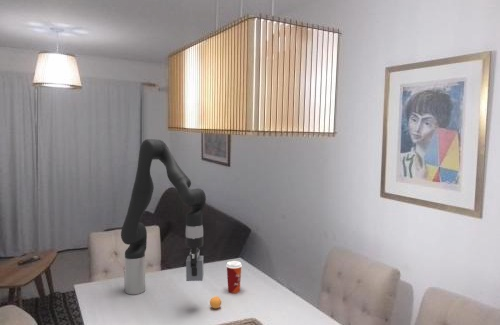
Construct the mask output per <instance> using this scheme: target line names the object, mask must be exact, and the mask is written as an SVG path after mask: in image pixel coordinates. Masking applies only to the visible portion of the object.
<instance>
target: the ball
mask: <svg viewBox="0 0 500 325" xmlns="http://www.w3.org/2000/svg"><path fill="white" fill-rule="evenodd" d="M209 305H210V307H211V308H212V309H219V308H220V307H221V305H222V300H221V298H220V297H219V296H213V297H211V298H210V300H209Z"/></svg>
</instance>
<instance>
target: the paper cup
mask: <svg viewBox="0 0 500 325" xmlns="http://www.w3.org/2000/svg"><path fill="white" fill-rule="evenodd" d="M225 266H226V272H227V273H226V275H227V276H226V277H227V278H226V279H227V289H228V290H227V291H228V293H230V294H238V293H240V292H241V281H242V266H243V265H242V263H241V262H240V261H238V260H230V261H228V262H227V263H226V265H225Z"/></svg>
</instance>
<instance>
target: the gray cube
mask: <svg viewBox="0 0 500 325" xmlns="http://www.w3.org/2000/svg"><path fill="white" fill-rule="evenodd" d="M192 265H195V262H192ZM190 266H191V262H190V255H187V258H186V260H185V268H186V269H185V270H186V271H185V273H186V274H185V276H186V277H185V278H186V279H185V281H186V282H197V281H198V282H202V281H203V279H204V255H199V256H198V262H197V276H192V268H191V267H190Z"/></svg>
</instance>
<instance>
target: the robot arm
mask: <svg viewBox="0 0 500 325" xmlns="http://www.w3.org/2000/svg"><path fill="white" fill-rule="evenodd" d="M153 160H159V161H160V162H161V163H162V164H163V165H164V166H165V169H166V175H167V179H168V180H169V182H170V183H171V185H173V187H174V188H175V189H176V191H177V193H178V196H179V199H180V201H181V202H182V203H183V205H185V206H186V207H190V208H191V209H189V211H187V212H186V214H185V247H186V248H189V249H190V250H189V256H190V262H191V266H190V267H191V268H192V276H197V262H198V256H200V252H201V251H200V250H201V249H200V248H202V247H203V246H204V226H203V213H204V210H205V205H206V201H207V199H206V198H207V196H206V193H205V191H204V190H203V189H201V188H193V189H191V185H192V182H191V179H190V178H189V176H187V174H186V173H185V172H184V171H183V170H182V169H181V167H180V166H179V165H178V162H177V161H176V159H175V158H174V155H173V154H172V152H171V151H170V149H169V147H168V146H167V144H166V142H164V141H163V140H161V139H150V138H149V139H148V138H146V139H145V140H143V141H142V142H141V144H140V147H139V154H138V160H137V169H136V174H135V179H134V183H133V187H132V191H131V195H130V200H129V205H128V208H127V213H126V216H125V219H124V222H123V225H122V227H121V231H120V238H121V241H122V243H124V244H125V245H129V246H128V247H127V248H126V250H125V251H124V271H123V274H124V275H123V278H124V280H123V281H124V282H123V283H124V288H123V290H124V291H125V293H126V294H128V295H138V294H143V293H144V292H145V291H146V256H145V254H146V251H147V243H148V242H147V238H148V237H147V236H148V235H147V234H148V232H147V228H146V226H145V225H144V223H142V222H140V220H141V218H142V216H143V214H144V213H145V211H146V210H147V208H148V206H150V204H151V201H152V197H153V193H154V188H155V187H154V182H153V177H152V176H151V166H152V162H153ZM192 262H195V265H192Z"/></svg>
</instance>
